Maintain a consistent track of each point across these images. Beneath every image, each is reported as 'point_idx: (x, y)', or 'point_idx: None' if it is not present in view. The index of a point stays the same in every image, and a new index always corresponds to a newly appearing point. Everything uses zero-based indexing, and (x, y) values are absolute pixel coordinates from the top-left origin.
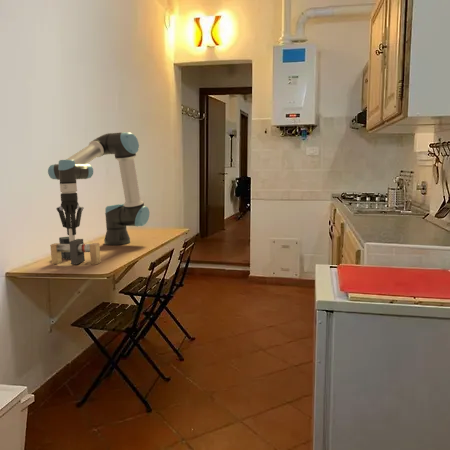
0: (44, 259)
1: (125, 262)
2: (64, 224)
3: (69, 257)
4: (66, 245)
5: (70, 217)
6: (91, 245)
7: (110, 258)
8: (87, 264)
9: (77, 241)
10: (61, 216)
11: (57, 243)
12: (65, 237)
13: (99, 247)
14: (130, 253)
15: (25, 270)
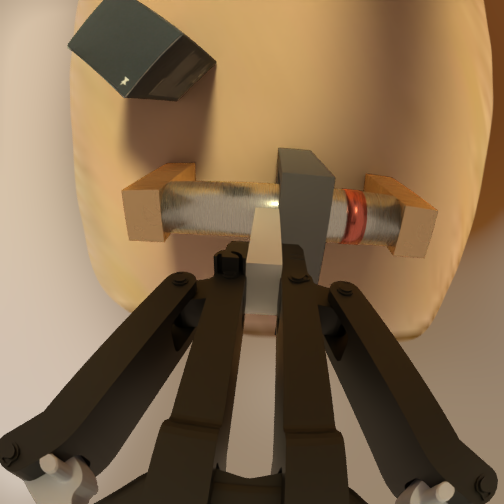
0: (84, 111)
1: (474, 188)
2: (191, 340)
3: (190, 84)
4: (230, 233)
5: (230, 371)
6: (401, 254)
7: (408, 87)
8: None
9: (321, 263)
10: (132, 414)
11: (144, 199)
12: (106, 38)
13: (425, 201)
14: (446, 6)
15: (142, 293)
